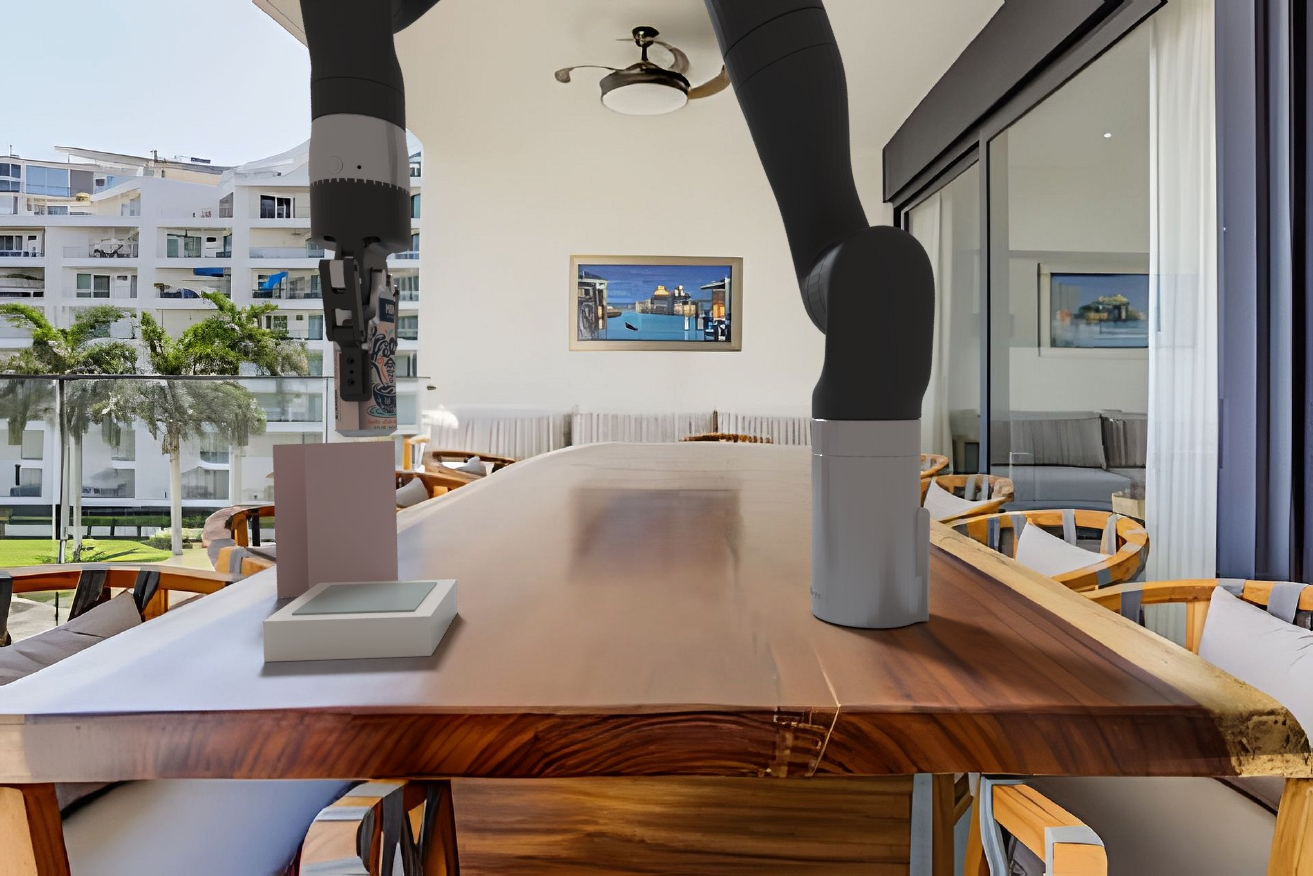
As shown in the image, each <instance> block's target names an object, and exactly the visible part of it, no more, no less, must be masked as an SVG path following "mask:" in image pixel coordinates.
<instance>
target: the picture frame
mask: <svg viewBox="0 0 1313 876" xmlns="http://www.w3.org/2000/svg"><path fill="white" fill-rule="evenodd" d="M458 600H459V599H458V579H457V578H456V579H455V578H451V579H448V578H447V579H418V580H417V579H415V580H398V581H370V582H333V583H319V584H317V585H316V586H314V587H313V588H311V589H310V590H308V591H307V592H305V593H304V594H302V595H301V596H297V597H296V598H294V600H292V601H290V602H289V603H288V604H287V605H285V606H283V607H282V608H280V609H279V610H278V611H276V612H275V613H273V614H271V615H270V616H269V617H267V618H266V619H264V620H263V621H262V632H263V633H262V635H263V636H262V637H263V638H262V639H263V662H269V663H270V662H291V661H293V662H294V661H295V662H297V661H318V660H319V661H321V660H322V661H323V660H353V659H378V658H379V659H380V658H381V659H382V658H403V657H405V658H407V657H408V658H409V657H410V658H411V657H432V655H433V653H434V652H435V650H436V649H437V647H438V645H439V643H440V642H441V640H442V639H443V637H444V635H445V634H446V632H447V630H448V629H449V627H450V626H451V624H452V622H453V621H454V619H455V617H456V616H457V613H458V612H459V611H458V610H459V609H458V608H459V607H458V603H459V602H458ZM452 620H453V621H452ZM449 625H450V626H449Z"/></svg>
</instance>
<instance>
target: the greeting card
mask: <svg viewBox="0 0 1313 876" xmlns="http://www.w3.org/2000/svg"><path fill="white" fill-rule="evenodd" d="M272 460H273V461H272V464H273V465H272V467H273V498H274V500H273V501H274V502H273V503H274V528H275V530H274V531H275V561H276V563H275V565H276V591H277V592H276V594H277V597H276V598H277V600H278V599H285V598H292V597H299V596H301V595H302V594H304V593H305V592H307V591H308V590H310V589H311V588H313V587H314V586H316V585H317V584H319V583H333V582H370V581H399V562H398V561H399V560H398V559H399V558H398V521H397V520H398V519H397V516H398V515H397V481H396V480H397V479H396V477H397V474H396V473H397V472H396V440H377V441H353V442H352V441H351V442H347V441H346V442H321V443H320V442H317V443H315V442H314V443H284V444H283V443H281V444H272Z"/></svg>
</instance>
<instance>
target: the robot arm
mask: <svg viewBox="0 0 1313 876" xmlns="http://www.w3.org/2000/svg"><path fill="white" fill-rule="evenodd" d="M440 1H441V0H299V6H300V13H301V17H302V22H303V23H302V24H303V29H304V33H305V34H304V35H305V39H306V44H307V48H308V54H309V59H310V82H309V84H310V86H309V87H310V119H311V120H310V121H311V122H310V123H311V125H310V139H309V144H308V145H309V147H308V176H309V177H308V178H309V180H308V181H309V182H308V183H309V210H310V211H309V212H310V214H309V217H310V237H311V238H310V239H311V241H312V242H313V244H314V245H315V246H317V247H320V249H324V250H328V251H332V252H334V257H333V259H332V258H330V259H329V258H327V259H326V258H323V259H319V261H318V271H319V281H320V282H319V283H320V290H321V299H322V307H323V308H322V309H323V316H324V325H325V336H326V340H327V341H328V342H329V343H330V342H332V343H333V342H334V347H335V350H336V351H337V352H341V353H339V370H340V397H341V399H342V400H343V401H345V402H367V401H369V400H370V399H371V398H372V368H371V354H370V353H365V352H370V351H371V348H372V334H373V328H374V327H375V326H377V325H378V324H379V323H380V315H381V298H380V295H381V292H385V289H386V286H387V287H388V289H389V291H390V292H391V294H392V296H393V298H394V300H395V301H394V322H395V352H396V351H397V348H398V347H399V343H398V334H399V333H398V329H399V328H398V327H399V308H400V307H399V306H400V295H401V291H400V289H399V285H395V279H394V275H393V274H392V273H391V274H390V273H389V268H388V266H389V265H388V262H387V258H388V256H390V255H392V254H396V255H397V254H401V253H404V252H406V251H408V250H409V249H410V248H411V246H412V242H413V241H412V207H411V206H412V201H411V198H412V197H411V195H412V194H411V165H410V155H409V150H408V144H407V134H406V133H407V127H406V125H407V123H406V120H407V119H406V118H407V116H406V115H407V114H406V94H405V93H406V91H405V88H406V87H405V81H404V76H403V71H402V67H401V64H400V62H399V59H398V56H397V52H396V46H395V39H394V35H395V34H397V33H400V32H402V31H404V30H405V29H407V28H408V27H410V26H411V25H412V24H414V23H415V22H417V21H418V20H419V19H420V18H421V17H423V16H424V15H425V14H426V13H427V12H428V11H430V10H431V9H432V8H434V6H436V5H437V4H438V3H439V2H440ZM703 2H704V5H705V8H706V12H707V14H708V17H709V19H710V23H711V26H712V28H713V31H714V34H715V37H716V41H717V43H718V47H719V50H720V54H721V58H722V60H723V62H724V66H725V69H726V71H727V74H728V77H729V80H730V83H731V86H732V88H733V91H734V94H735V96H736V100H737V102H738V105H739V106H740V109H741V112H742V115H743V117H744V119H745V121H746V124H747V126H748V129H749V133H750V135H751V139H752V141H753V143H754V146H755V150H756V153H757V155H758V158H759V160H760V163H761V166H762V167H763V168H762V169H763V170H764V173H765V176H766V179H767V180H768V184H769V186H770V189H771V190H772V192H773V196H774V198H775V201H776V203H777V204H776V205H777V207H778V209H779V213H780V216H781V219H782V223H783V226H784V230H785V234H786V237H787V243H788V246H789V250H790V251H789V252H790V254H791V255H790V256H791V260H792V262H793V268H794V271H795V275H796V277H795V278H796V279H797V285H798V289H799V293H800V298H801V300H802V303H803V307H804V309H805V312H806V314H807V316H808V317H809V320H811V322H812V324H813V325H814V326H815V327H816V329H817V330H818V331H819V332H821V333H822V334H823V335H824V336H825V339H824V341H825V343H824V344H825V345H824V360H823V365H822V370H821V373H820V376H819V379H818V380H817V382H816V384H815V387H814V388H813V390H812V395H811V418H812V419H811V491H810V492H811V494H810V495H811V496H810V497H811V504H810V505H811V509H810V511H811V516H810V517H811V522H810V524H811V526H810V527H811V528H810V531H811V532H810V534H811V542H810V550H811V551H810V552H811V553H810V556H811V557H810V567H811V568H810V569H811V571H810V572H811V574H810V577H811V578H810V596H811V597H810V607H811V608H810V612H811V613H812V615H814V616H815V617H817V618H819V619H821V620H823V621H826V622H829V623H832V624H837V625H842V626H848V627H853V628H854V627H856V628H867V629H869V628H870V629H887V628H888V629H889V628H890V629H891V628H899V627H904V626H908V625H911V624H914V623H918V622H928V621H930V559H931V558H930V555H931V553H930V552H931V549H930V548H931V547H930V545H931V513H930V511H929V509H928V508H926V507H924V506H923V507H922V506H921V490H922V489H921V487H922V485H921V482H922V481H921V480H922V479H921V478H922V475H921V467H922V466H921V465H922V457H921V456H922V453H921V452H922V419H921V418H922V415H923V414H922V412H923V411H922V408H923V400H924V397H925V395H926V392H927V389H928V387H929V384H930V382H931V375H932V369H933V368H932V367H933V366H932V365H933V352H934V333H935V331H934V330H935V318H936V317H935V316H936V315H935V312H936V310H935V309H936V286H935V274H934V270H933V266H932V262H931V260H930V257H929V255H928V253H927V251H926V249H925V247H924V246H923V244H922V243H921V242H920V241H919V240H918V239H917V238H916V237H915V236H914V235H913V234H912V233H910V232H908V231H906V230H904V229H902V228H901V227H896V226H894V225H884V224H881V225H879V224H878V225H872V226H871V225H870V223H869V221H868V218H867V216H866V212H865V210H864V208H863V205H862V202H861V199H860V196H859V193H858V191H857V187H856V183H855V179H854V174H853V167H852V166H853V165H852V161H851V158H852V157H851V139H850V138H851V136H850V114H849V113H850V110H849V94H848V93H849V92H848V84H847V83H848V82H847V77H846V76H847V75H846V70H845V66H844V62H843V58H842V54H841V51H840V48H839V45H838V43H837V40H836V39H837V38H836V37H835V33H834V30H833V27H832V25H831V22H830V18H829V16H828V13H827V10H826V8H825V6H824V5H825V4H824V3H823V0H703ZM368 304H370V307H369V308H368V309H367V310H364V311H363V310H362V306H364V305H368ZM341 309H349V310H350V311H348V310H341ZM348 324H353V325H348Z"/></svg>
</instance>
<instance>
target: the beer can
mask: <svg viewBox="0 0 1313 876" xmlns="http://www.w3.org/2000/svg"><path fill="white" fill-rule="evenodd" d="M380 298H381V315H380V323H379V324H378V325H377V326H375V327H374V328H373V334H372V348H371V351H370V352H365V353H370V354H371V368H372V398H371V399H370V400H369V401H367V402H345V401H343V400H342V399H341V397H340V370H339V353H341V352H337V351H336V350H335V347H334V342H332V345H333V346H332V348H333V350H332V352H333V353H332V354H333V355H332V356H333V381H334V382H333V383H334V386H333V387H334V421H335V422H334V423H335V424H334V425H335V429H334V432H336V433H338V434H339V435H342V437H343V438H376V437H378V438H379V437H381V438H382V437H390V436H391V435H392V434H393V433H395V432H397V430H398V417H397V415H398V413H397V411H398V410H397V409H398V408H397V407H398V406H397V377H396V376H397V375H396V373H397V371H396V367H397V366H396V364H397V363H396V351H395V322H394V301H395V300H394V298H393V296H392V294H391V292H390V291H389V289H388V287H387V286H386V289H385V292H381V295H380ZM369 307H370V304H368V305H364V306H362V310H363V311H364V310H367V309H368V308H369ZM341 310H348V311H350V310H349V309H341ZM348 325H353V324H348Z"/></svg>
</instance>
